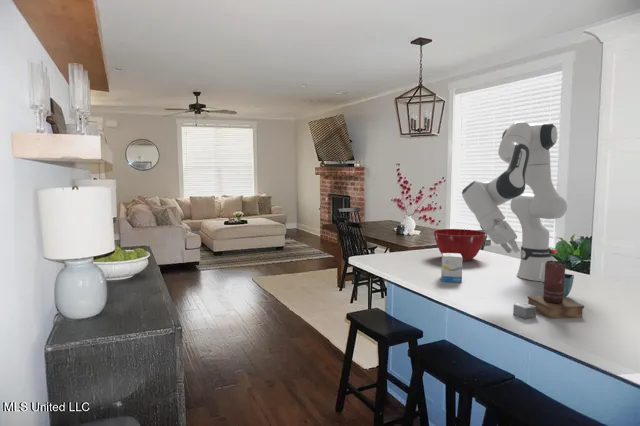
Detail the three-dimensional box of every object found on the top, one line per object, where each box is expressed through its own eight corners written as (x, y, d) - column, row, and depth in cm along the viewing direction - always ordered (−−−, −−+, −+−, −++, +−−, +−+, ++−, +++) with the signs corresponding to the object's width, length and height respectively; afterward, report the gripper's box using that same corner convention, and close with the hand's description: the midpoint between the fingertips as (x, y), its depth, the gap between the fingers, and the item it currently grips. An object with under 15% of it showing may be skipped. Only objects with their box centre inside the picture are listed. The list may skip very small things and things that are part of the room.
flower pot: (548, 292, 172) (549, 271, 171) (573, 296, 166) (574, 274, 165) (543, 297, 165) (544, 275, 164) (569, 302, 159) (570, 279, 159)
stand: (558, 305, 155) (559, 295, 155) (583, 317, 143) (584, 305, 142) (526, 306, 154) (527, 296, 154) (548, 318, 142) (549, 307, 141)
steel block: (523, 313, 147) (524, 302, 147) (535, 317, 143) (536, 306, 142) (513, 315, 145) (513, 304, 145) (525, 319, 141) (525, 308, 140)
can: (554, 297, 151) (556, 259, 150) (567, 303, 145) (569, 263, 143) (538, 298, 150) (541, 260, 149) (550, 304, 144) (553, 264, 142)
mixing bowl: (422, 255, 247) (423, 229, 246) (464, 252, 256) (464, 227, 254) (451, 265, 220) (452, 236, 219) (496, 262, 229) (497, 234, 227)
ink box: (462, 282, 187) (463, 256, 186) (442, 281, 189) (443, 256, 188) (459, 277, 195) (460, 253, 194) (440, 276, 197) (441, 252, 196)
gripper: (507, 213, 148) (530, 246, 145) (493, 218, 168) (513, 248, 166) (491, 222, 148) (514, 256, 146) (479, 227, 168) (499, 256, 166)
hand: (513, 252), depth 156 cm, fingers open, 8 cm apart
